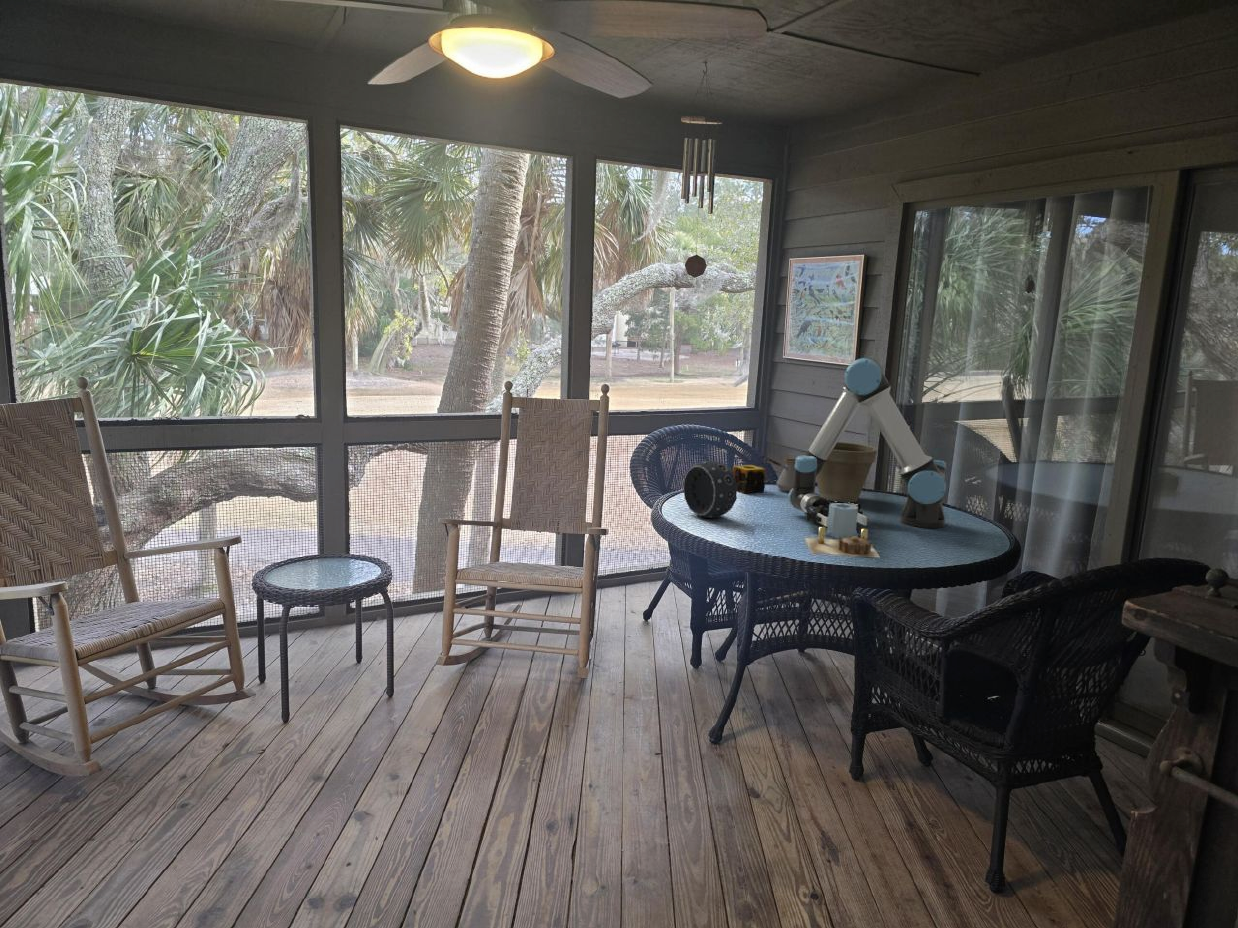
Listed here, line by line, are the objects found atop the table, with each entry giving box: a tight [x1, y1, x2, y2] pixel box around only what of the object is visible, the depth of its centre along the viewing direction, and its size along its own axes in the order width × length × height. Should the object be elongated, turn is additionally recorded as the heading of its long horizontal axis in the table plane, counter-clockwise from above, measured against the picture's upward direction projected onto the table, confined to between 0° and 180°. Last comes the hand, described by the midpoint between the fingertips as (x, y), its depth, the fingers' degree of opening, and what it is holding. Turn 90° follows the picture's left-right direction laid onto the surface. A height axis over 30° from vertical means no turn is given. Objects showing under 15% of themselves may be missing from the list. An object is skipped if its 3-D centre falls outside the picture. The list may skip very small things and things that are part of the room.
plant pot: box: [810, 441, 878, 503], centre depth 318 cm, size 25×25×22 cm
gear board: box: [804, 537, 881, 559], centre depth 246 cm, size 20×17×2 cm
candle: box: [732, 464, 767, 495], centre depth 329 cm, size 10×10×10 cm
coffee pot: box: [763, 457, 796, 493], centre depth 329 cm, size 21×12×15 cm, turn 125°
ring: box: [682, 460, 738, 519], centre depth 283 cm, size 11×20×20 cm, turn 33°
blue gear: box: [825, 502, 859, 539], centre depth 260 cm, size 10×10×11 cm
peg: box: [817, 526, 826, 544], centre depth 250 cm, size 2×2×5 cm
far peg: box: [859, 527, 869, 540], centre depth 249 cm, size 2×2×5 cm
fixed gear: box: [838, 536, 872, 555], centre depth 243 cm, size 9×9×4 cm
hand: (846, 521), depth 257 cm, fingers open, 13 cm apart
